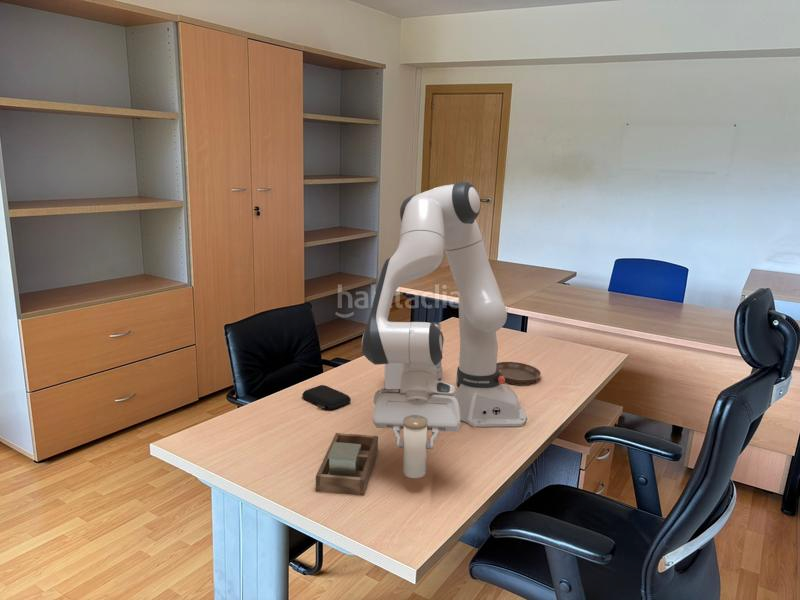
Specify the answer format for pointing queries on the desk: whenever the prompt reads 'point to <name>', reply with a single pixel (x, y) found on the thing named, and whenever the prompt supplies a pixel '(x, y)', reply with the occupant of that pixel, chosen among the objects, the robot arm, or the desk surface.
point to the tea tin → (344, 459)
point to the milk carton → (393, 375)
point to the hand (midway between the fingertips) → (414, 447)
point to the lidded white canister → (415, 446)
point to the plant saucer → (518, 373)
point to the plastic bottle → (439, 367)
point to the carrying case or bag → (326, 397)
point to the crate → (345, 482)
